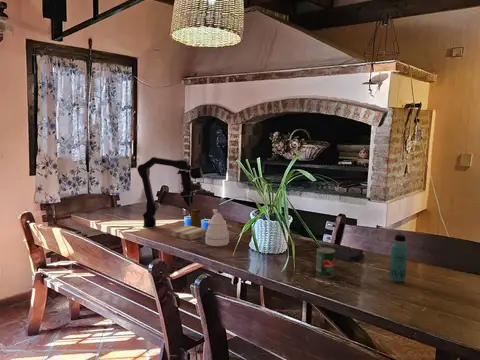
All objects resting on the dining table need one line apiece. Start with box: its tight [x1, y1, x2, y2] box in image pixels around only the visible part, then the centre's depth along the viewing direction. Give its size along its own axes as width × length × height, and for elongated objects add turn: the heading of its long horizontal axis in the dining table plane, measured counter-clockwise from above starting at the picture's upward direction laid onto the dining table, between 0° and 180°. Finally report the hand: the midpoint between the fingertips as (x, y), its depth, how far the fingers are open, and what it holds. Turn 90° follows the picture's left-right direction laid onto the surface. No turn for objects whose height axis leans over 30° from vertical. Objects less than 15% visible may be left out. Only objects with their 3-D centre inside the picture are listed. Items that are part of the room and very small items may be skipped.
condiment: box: [190, 208, 202, 228], centre depth 256 cm, size 7×8×12 cm
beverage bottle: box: [388, 234, 409, 282], centre depth 173 cm, size 6×7×20 cm
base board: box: [169, 224, 208, 241], centre depth 243 cm, size 16×16×3 cm
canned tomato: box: [315, 246, 336, 278], centre depth 181 cm, size 8×8×11 cm
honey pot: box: [205, 209, 230, 247], centre depth 227 cm, size 13×13×18 cm
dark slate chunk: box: [315, 244, 366, 263], centre depth 210 cm, size 15×22×5 cm
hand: (190, 204), depth 257 cm, fingers open, 9 cm apart
